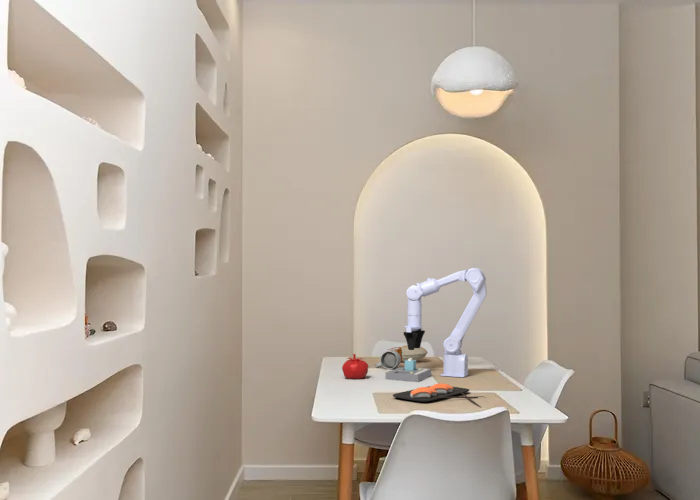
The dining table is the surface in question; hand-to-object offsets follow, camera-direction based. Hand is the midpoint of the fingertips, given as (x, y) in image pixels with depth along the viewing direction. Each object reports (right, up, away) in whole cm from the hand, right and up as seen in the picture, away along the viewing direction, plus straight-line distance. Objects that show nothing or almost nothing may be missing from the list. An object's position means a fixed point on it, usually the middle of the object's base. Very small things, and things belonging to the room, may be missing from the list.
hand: (414, 349), depth 296 cm
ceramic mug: (-10, -10, +15) cm, 20 cm away
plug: (-2, -10, -6) cm, 12 cm away
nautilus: (-1, -11, +36) cm, 37 cm away
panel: (-3, -10, -11) cm, 15 cm away
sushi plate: (+7, -10, -56) cm, 57 cm away
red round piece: (-24, -10, -14) cm, 29 cm away
